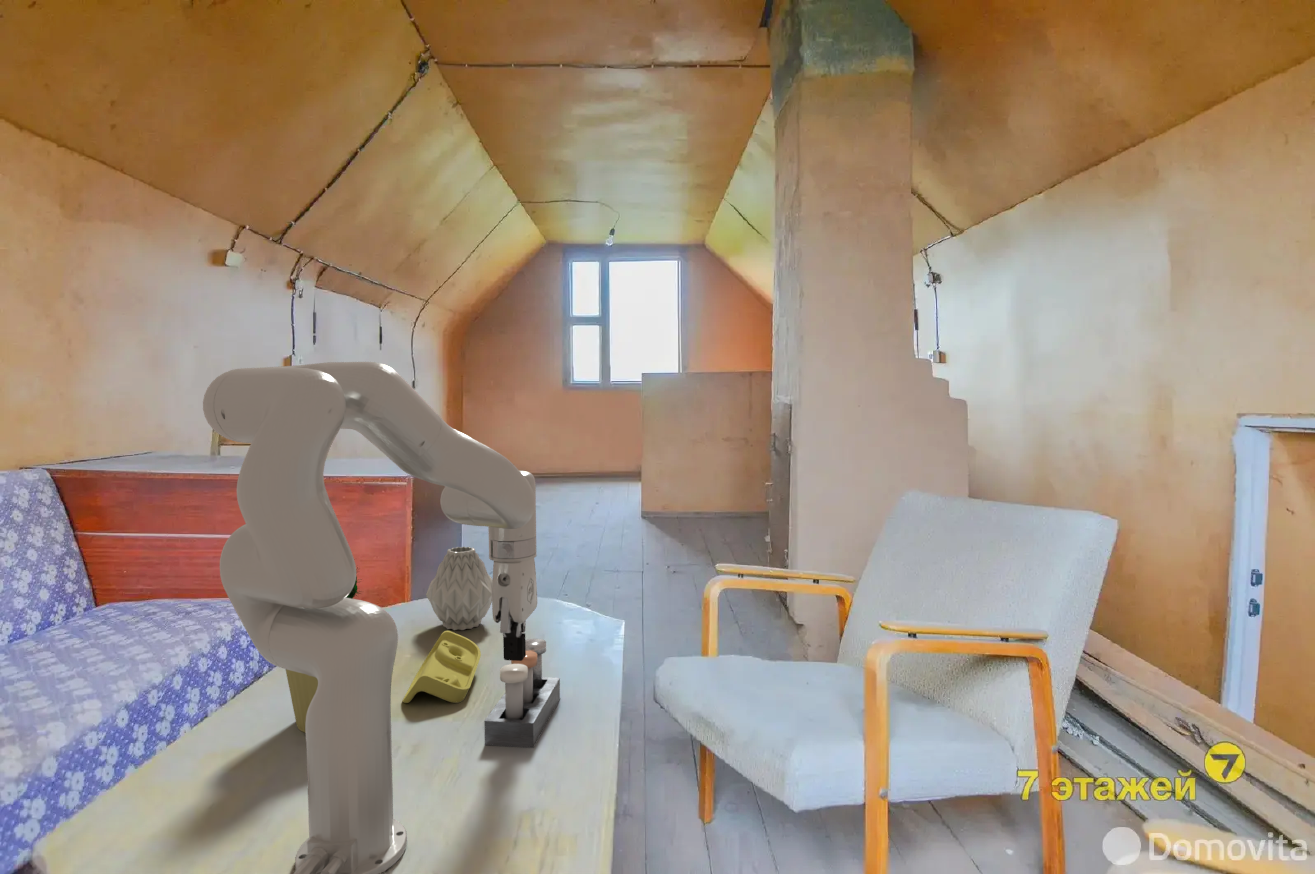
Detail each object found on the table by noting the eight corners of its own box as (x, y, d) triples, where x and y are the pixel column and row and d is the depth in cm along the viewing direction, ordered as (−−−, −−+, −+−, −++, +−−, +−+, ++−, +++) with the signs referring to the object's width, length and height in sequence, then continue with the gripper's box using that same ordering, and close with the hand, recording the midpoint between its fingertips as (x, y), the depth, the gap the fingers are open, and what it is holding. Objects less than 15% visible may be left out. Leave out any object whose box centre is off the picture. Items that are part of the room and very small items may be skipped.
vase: (510, 621, 177) (510, 546, 175) (459, 641, 163) (458, 560, 162) (464, 610, 185) (462, 539, 184) (411, 628, 171) (410, 551, 170)
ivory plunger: (523, 726, 116) (523, 674, 115) (497, 724, 116) (496, 673, 116) (531, 713, 120) (530, 664, 120) (505, 712, 121) (504, 663, 120)
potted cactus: (286, 749, 114) (279, 562, 112) (280, 711, 128) (274, 543, 125) (388, 726, 122) (384, 551, 120) (372, 693, 135) (368, 534, 133)
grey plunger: (542, 694, 128) (542, 647, 127) (518, 693, 128) (518, 646, 128) (549, 684, 132) (548, 639, 132) (525, 683, 133) (525, 638, 132)
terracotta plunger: (533, 709, 122) (533, 660, 121) (508, 708, 122) (507, 659, 122) (540, 698, 126) (540, 651, 126) (515, 697, 127) (515, 650, 126)
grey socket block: (533, 747, 115) (533, 723, 115) (484, 744, 116) (484, 720, 116) (559, 699, 133) (559, 677, 133) (517, 697, 134) (517, 675, 134)
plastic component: (468, 692, 130) (416, 671, 129) (450, 727, 131) (399, 706, 130) (484, 645, 150) (439, 626, 149) (469, 676, 151) (424, 657, 149)
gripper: (522, 559, 109) (524, 678, 110) (547, 538, 123) (548, 642, 125) (473, 558, 109) (476, 676, 111) (504, 537, 124) (506, 641, 126)
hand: (514, 658), depth 118 cm, fingers closed
